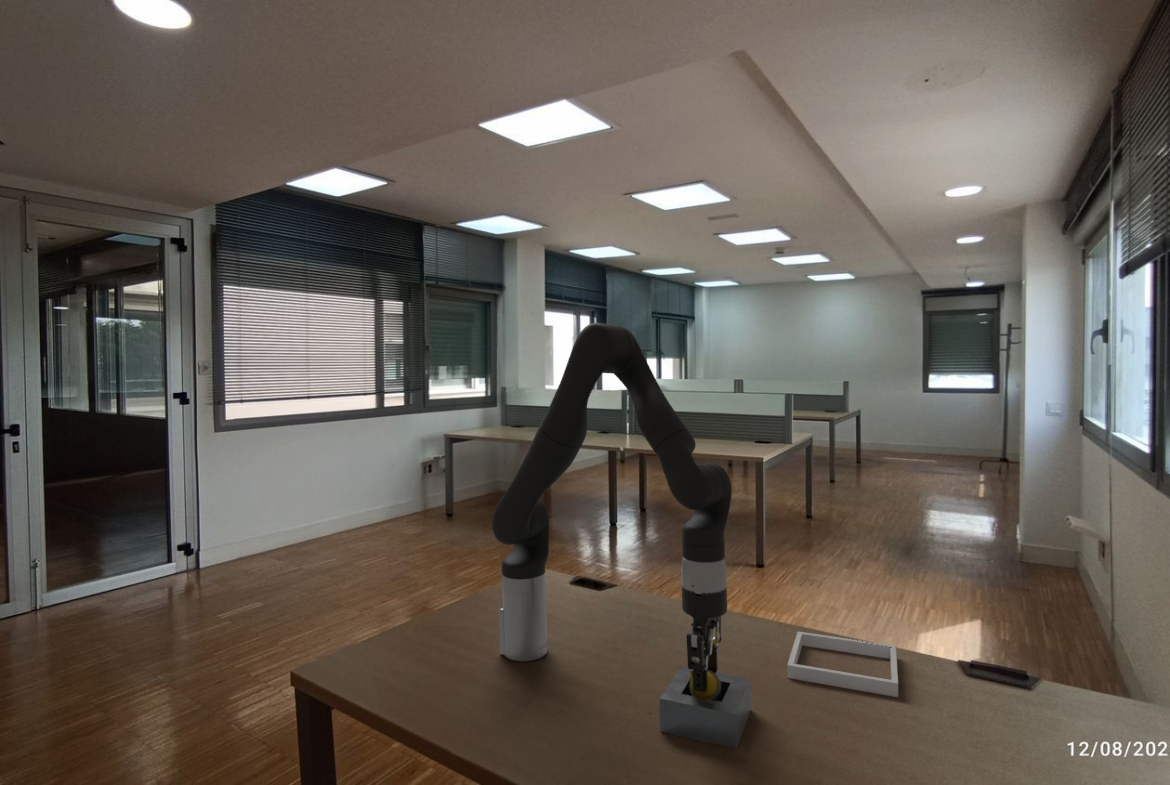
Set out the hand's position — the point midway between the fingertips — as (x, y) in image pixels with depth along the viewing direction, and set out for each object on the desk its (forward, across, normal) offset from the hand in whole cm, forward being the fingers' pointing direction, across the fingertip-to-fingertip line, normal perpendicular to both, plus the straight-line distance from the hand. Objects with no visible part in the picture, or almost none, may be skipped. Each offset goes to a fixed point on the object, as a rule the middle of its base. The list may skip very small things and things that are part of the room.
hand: (705, 680), depth 105 cm
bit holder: (+7, 0, 0) cm, 7 cm away
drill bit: (+4, 0, 0) cm, 4 cm away
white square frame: (+7, -29, +20) cm, 36 cm away
